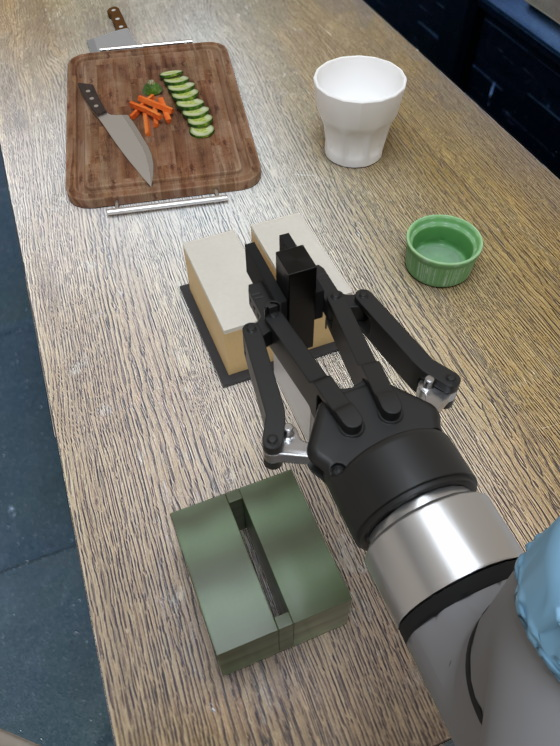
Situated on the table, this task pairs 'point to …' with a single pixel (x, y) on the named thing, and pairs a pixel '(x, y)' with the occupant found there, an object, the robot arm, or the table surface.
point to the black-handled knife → (297, 321)
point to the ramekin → (442, 249)
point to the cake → (244, 290)
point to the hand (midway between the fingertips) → (267, 252)
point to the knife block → (278, 561)
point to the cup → (357, 106)
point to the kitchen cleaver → (113, 33)
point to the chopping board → (156, 127)
